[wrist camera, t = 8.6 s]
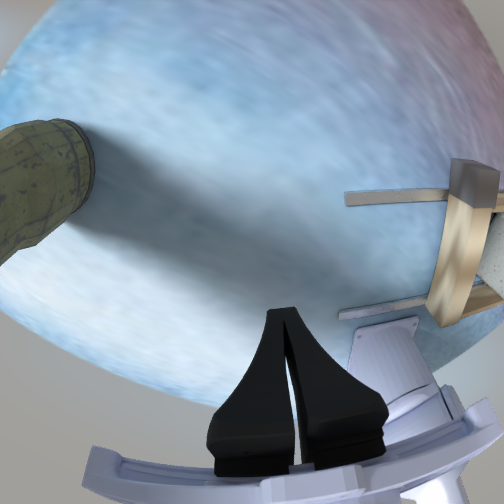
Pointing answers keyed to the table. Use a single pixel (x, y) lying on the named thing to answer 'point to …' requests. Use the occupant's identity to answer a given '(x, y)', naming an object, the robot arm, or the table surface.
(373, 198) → the track
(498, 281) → the ceramic mug
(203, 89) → the table surface
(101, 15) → the table surface
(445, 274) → the tan wooden bracket
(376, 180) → the table surface
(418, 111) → the table surface
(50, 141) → the thermos
